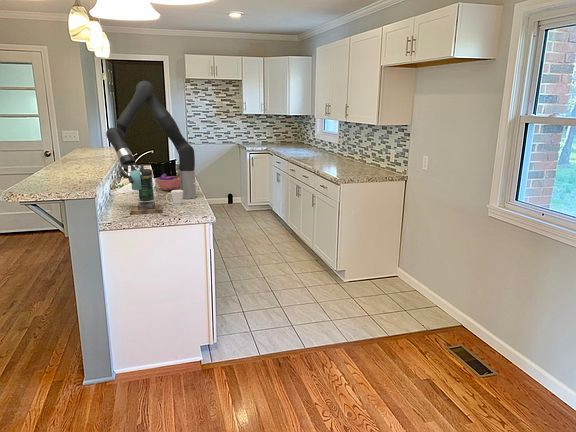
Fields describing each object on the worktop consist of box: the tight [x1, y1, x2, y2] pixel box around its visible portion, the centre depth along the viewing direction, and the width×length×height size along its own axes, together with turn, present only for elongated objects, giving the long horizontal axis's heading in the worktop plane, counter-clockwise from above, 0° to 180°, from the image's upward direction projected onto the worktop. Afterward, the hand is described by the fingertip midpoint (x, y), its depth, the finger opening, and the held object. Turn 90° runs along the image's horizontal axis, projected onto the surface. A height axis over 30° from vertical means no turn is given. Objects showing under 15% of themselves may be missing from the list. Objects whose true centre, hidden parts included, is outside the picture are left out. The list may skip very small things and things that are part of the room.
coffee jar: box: [138, 168, 155, 202], centre depth 266 cm, size 10×8×19 cm
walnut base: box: [130, 200, 163, 216], centre depth 239 cm, size 16×12×4 cm
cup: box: [165, 189, 183, 206], centre depth 254 cm, size 7×10×8 cm
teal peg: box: [130, 169, 142, 191], centre depth 239 cm, size 5×5×10 cm
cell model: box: [154, 173, 180, 192], centre depth 294 cm, size 17×20×11 cm
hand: (137, 182), depth 238 cm, fingers closed on teal peg, 5 cm apart
